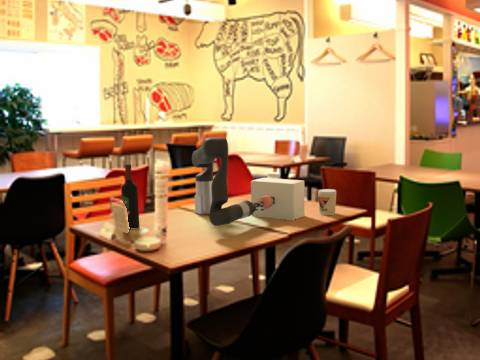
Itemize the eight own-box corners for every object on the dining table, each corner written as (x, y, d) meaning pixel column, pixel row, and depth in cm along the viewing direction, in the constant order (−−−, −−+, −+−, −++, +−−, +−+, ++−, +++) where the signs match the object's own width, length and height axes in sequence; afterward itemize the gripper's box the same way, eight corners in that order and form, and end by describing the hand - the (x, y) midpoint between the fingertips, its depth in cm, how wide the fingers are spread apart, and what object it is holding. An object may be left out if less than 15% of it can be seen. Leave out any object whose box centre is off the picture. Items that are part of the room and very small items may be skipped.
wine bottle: (138, 229, 260) (135, 165, 255) (122, 229, 259) (118, 165, 255) (140, 225, 267) (137, 163, 263) (124, 226, 266) (120, 164, 262)
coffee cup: (314, 213, 285) (314, 190, 283) (327, 211, 290) (327, 188, 288) (327, 216, 277) (327, 192, 276) (340, 213, 283) (340, 190, 281)
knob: (268, 210, 267) (268, 197, 266) (257, 209, 270) (257, 196, 269) (278, 206, 275) (278, 193, 274) (267, 205, 278) (267, 193, 278)
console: (293, 220, 270) (292, 183, 267) (251, 215, 283) (250, 180, 280) (304, 215, 280) (304, 180, 277) (263, 211, 293) (263, 177, 290)
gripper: (254, 203, 249) (273, 196, 263) (230, 200, 257) (250, 194, 271) (254, 219, 250) (274, 212, 265) (230, 216, 258) (250, 209, 272)
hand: (262, 203), depth 268 cm, fingers closed
